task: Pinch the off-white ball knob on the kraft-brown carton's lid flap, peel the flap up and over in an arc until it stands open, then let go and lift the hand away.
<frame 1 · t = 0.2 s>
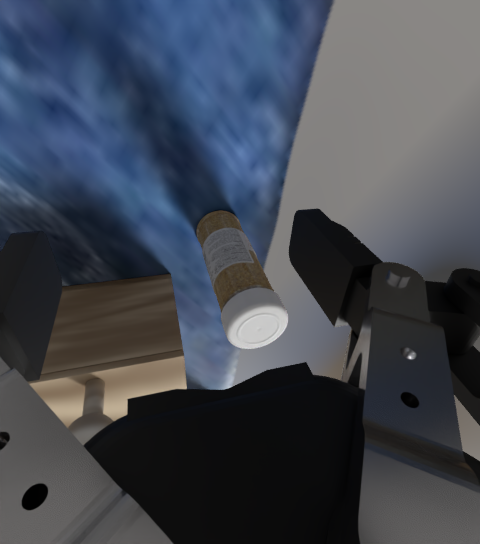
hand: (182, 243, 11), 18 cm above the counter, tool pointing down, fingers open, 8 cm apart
carton: (114, 334, 37), on the counter
carton flap: (109, 455, 27), point 14 cm above the counter, hinge at 0.0°
sprinkles bottle: (217, 227, 32), on the counter
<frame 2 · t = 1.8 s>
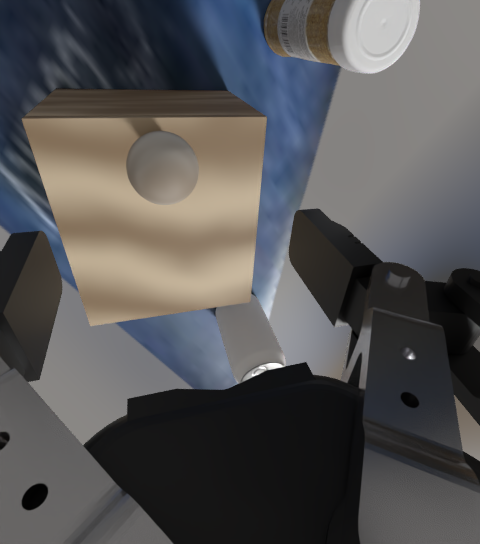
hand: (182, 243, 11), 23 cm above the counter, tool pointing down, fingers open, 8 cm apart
carton: (157, 181, 32), on the counter
carton flap: (170, 254, 21), point 14 cm above the counter, hinge at 0.0°
sprinkles bottle: (286, 23, 27), on the counter
can: (236, 306, 46), on the counter
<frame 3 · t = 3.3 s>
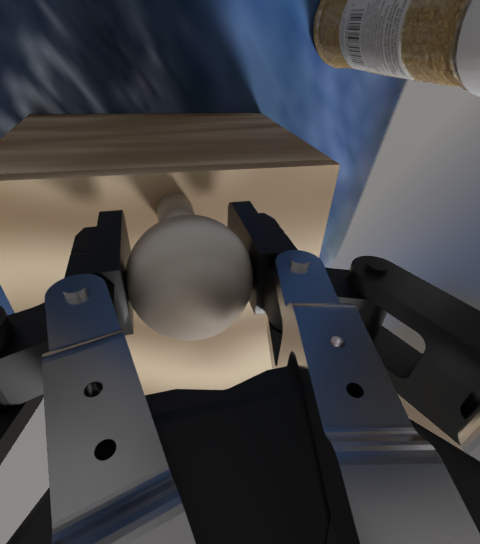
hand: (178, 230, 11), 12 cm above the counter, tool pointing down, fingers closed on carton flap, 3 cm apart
carton: (166, 226, 25), on the counter
carton flap: (192, 367, 14), point 14 cm above the counter, hinge at 0.0°, touching gripper
sprinkles bottle: (342, 24, 20), on the counter
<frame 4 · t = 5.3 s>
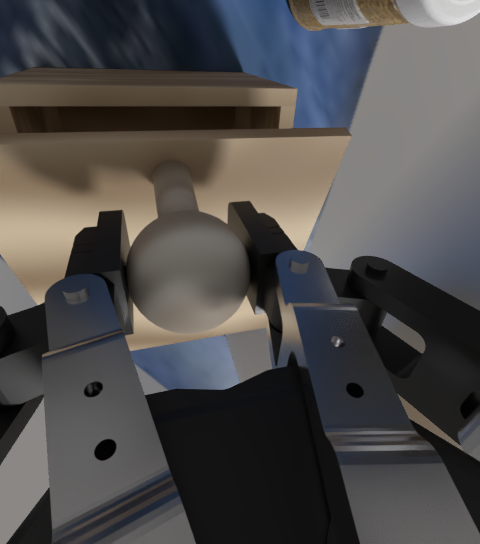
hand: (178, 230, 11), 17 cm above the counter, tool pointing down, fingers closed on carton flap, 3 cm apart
carton: (159, 181, 27), on the counter
carton flap: (185, 323, 15), point 16 cm above the counter, hinge at 18.0°, touching gripper
can: (248, 324, 40), on the counter
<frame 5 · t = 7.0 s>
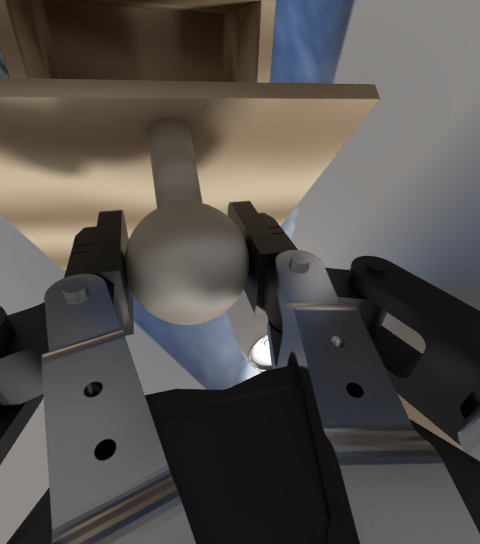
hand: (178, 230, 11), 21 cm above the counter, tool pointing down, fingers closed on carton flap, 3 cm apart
carton: (150, 116, 28), on the counter
carton flap: (177, 269, 16), point 18 cm above the counter, hinge at 40.4°, touching gripper
can: (241, 279, 41), on the counter
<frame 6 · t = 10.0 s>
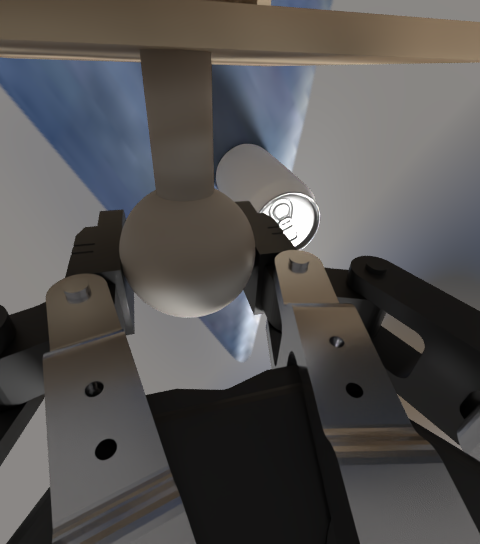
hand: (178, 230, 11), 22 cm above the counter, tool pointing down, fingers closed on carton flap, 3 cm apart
carton flap: (165, 142, 13), point 18 cm above the counter, hinge at 86.0°, touching gripper
can: (244, 173, 34), on the counter
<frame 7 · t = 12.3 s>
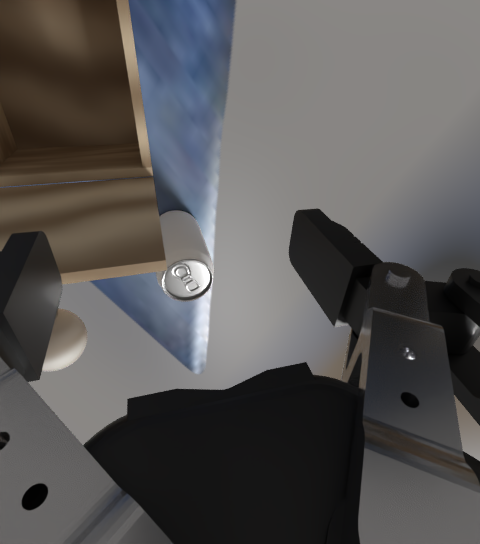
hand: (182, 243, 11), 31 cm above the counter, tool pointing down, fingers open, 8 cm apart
carton: (62, 66, 31), on the counter
carton flap: (65, 262, 23), point 18 cm above the counter, hinge at 86.7°
can: (175, 230, 44), on the counter
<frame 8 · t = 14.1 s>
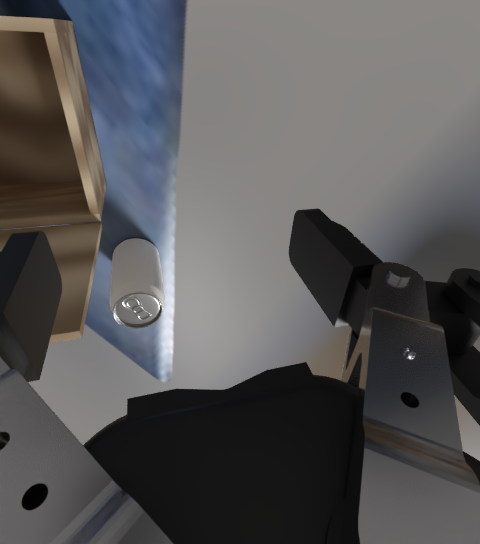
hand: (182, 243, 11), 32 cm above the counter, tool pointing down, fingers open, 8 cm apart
carton: (19, 114, 34), on the counter
carton flap: (9, 310, 26), point 18 cm above the counter, hinge at 86.7°
can: (136, 255, 47), on the counter
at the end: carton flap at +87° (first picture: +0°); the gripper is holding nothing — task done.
